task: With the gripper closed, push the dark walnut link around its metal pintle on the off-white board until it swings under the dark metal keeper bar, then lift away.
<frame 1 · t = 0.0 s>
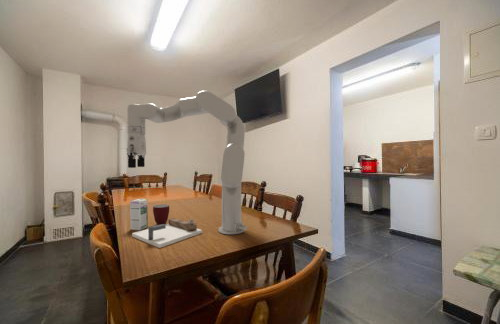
hand: (136, 167, 105), 31 cm above the table, tool pointing down, fingers open, 9 cm apart
mug: (161, 224, 119), on the table
pintle board: (167, 234, 102), on the table
walnut link: (182, 221, 109), point 4 cm above the table, hinge at 0.0°
keeper: (150, 242, 92), resting on pintle board
syrup box: (139, 228, 112), on the table
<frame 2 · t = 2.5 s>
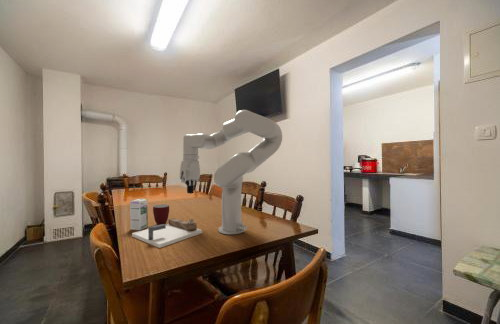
hand: (190, 193, 116), 17 cm above the table, tool pointing down, fingers closed
nothing on the table moved.
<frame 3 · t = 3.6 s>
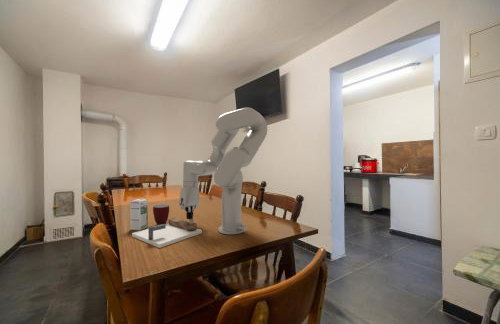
hand: (189, 218, 116), 4 cm above the table, tool pointing down, fingers closed
nothing on the table moved.
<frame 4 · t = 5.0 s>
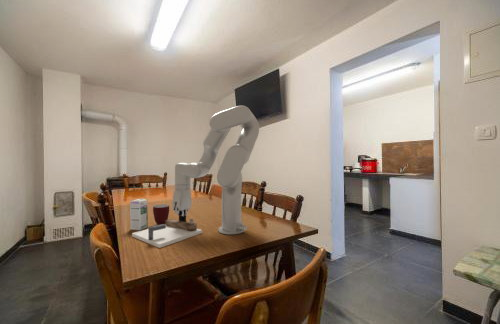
hand: (182, 223, 112), 3 cm above the table, tool pointing down, fingers closed
walnut link: (181, 222, 108), point 4 cm above the table, hinge at 7.0°, touching gripper
everything else where it was.
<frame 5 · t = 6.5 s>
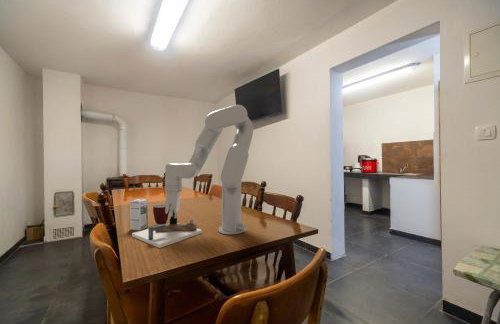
hand: (173, 226, 107), 3 cm above the table, tool pointing down, fingers closed
walnut link: (176, 224, 104), point 4 cm above the table, hinge at 42.8°, touching gripper
everything else where it was.
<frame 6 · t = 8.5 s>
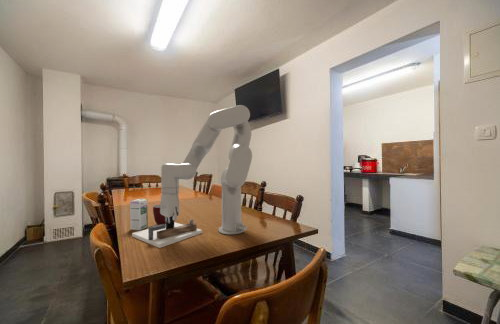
hand: (170, 230, 100), 3 cm above the table, tool pointing down, fingers closed
walnut link: (178, 227, 100), point 4 cm above the table, hinge at 83.1°, touching gripper
everything else where it was.
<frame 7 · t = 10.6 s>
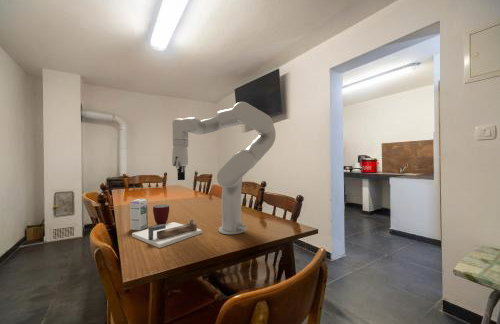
hand: (181, 179, 112), 25 cm above the table, tool pointing down, fingers closed
walnut link: (178, 227, 100), point 4 cm above the table, hinge at 83.2°
everything else where it was.
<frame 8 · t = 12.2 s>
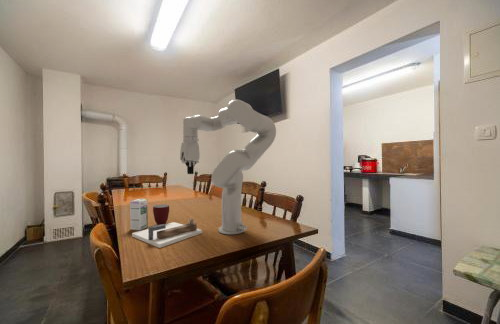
hand: (190, 173, 120), 27 cm above the table, tool pointing down, fingers closed
nothing on the table moved.
at the end: walnut link at +83° (first picture: +0°) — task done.
